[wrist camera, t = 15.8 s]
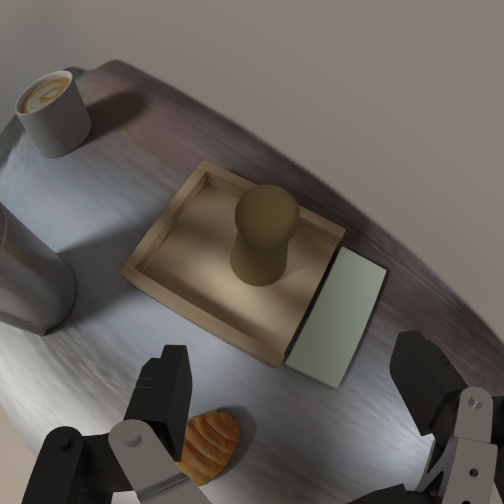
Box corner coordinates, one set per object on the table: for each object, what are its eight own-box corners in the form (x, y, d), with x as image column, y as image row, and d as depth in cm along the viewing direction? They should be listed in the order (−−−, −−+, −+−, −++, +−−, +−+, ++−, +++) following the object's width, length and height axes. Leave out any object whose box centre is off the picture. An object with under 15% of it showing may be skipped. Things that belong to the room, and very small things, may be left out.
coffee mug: (103, 123, 42) (84, 75, 33) (59, 166, 38) (31, 121, 29) (61, 105, 44) (43, 65, 35) (23, 142, 40) (-1, 103, 31)
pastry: (210, 393, 29) (207, 395, 25) (257, 438, 27) (260, 446, 24) (146, 447, 26) (135, 455, 22) (192, 491, 24) (187, 504, 21)
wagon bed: (274, 368, 30) (279, 367, 27) (129, 282, 32) (119, 272, 29) (336, 242, 36) (346, 229, 33) (205, 177, 38) (203, 160, 35)
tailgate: (283, 364, 30) (333, 388, 29) (285, 363, 29) (337, 388, 28) (338, 250, 35) (382, 273, 34) (342, 246, 34) (386, 270, 33)
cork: (233, 290, 32) (233, 245, 22) (226, 236, 34) (225, 175, 24) (291, 283, 32) (317, 237, 22) (281, 231, 35) (300, 170, 24)
